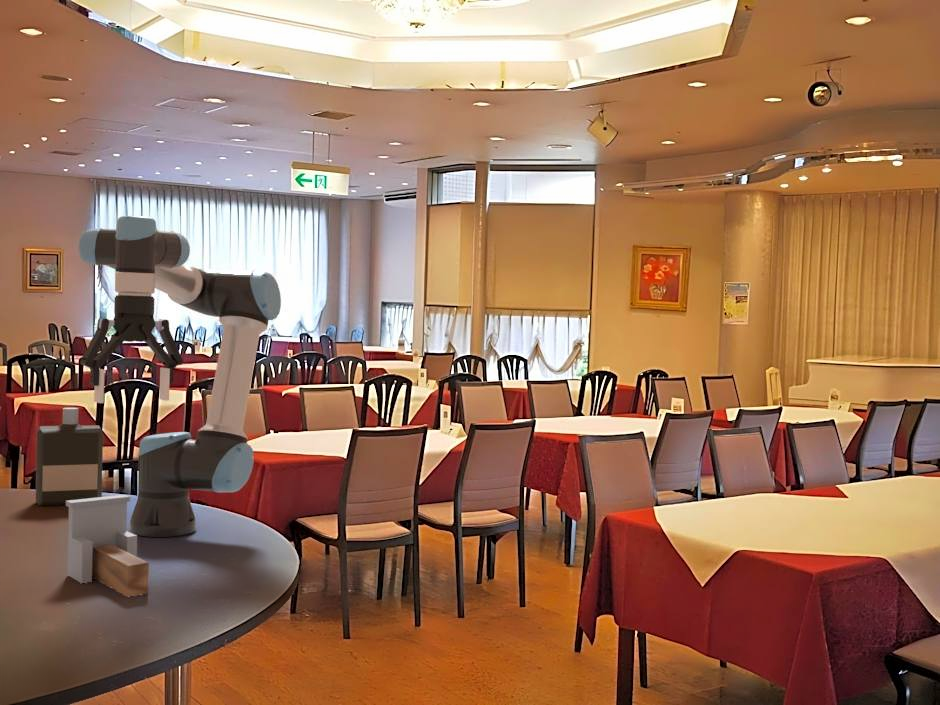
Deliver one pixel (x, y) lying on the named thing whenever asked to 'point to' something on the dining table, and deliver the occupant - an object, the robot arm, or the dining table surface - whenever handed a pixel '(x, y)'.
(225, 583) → the dining table surface
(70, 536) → the grey u-shaped bracket
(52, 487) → the bottle
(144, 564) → the rail
